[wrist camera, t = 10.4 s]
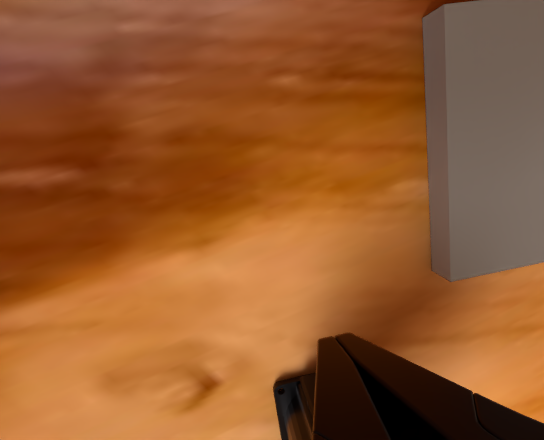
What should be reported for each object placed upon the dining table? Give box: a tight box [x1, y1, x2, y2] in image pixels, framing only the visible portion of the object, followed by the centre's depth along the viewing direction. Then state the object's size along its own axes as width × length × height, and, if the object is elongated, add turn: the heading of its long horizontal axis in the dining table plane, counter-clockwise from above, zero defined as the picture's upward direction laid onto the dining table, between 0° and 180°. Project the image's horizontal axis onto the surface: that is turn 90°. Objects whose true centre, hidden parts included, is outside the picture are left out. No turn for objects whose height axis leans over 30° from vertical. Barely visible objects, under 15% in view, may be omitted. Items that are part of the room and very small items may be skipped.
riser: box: [422, 0, 544, 282], centre depth 21 cm, size 16×12×2 cm
